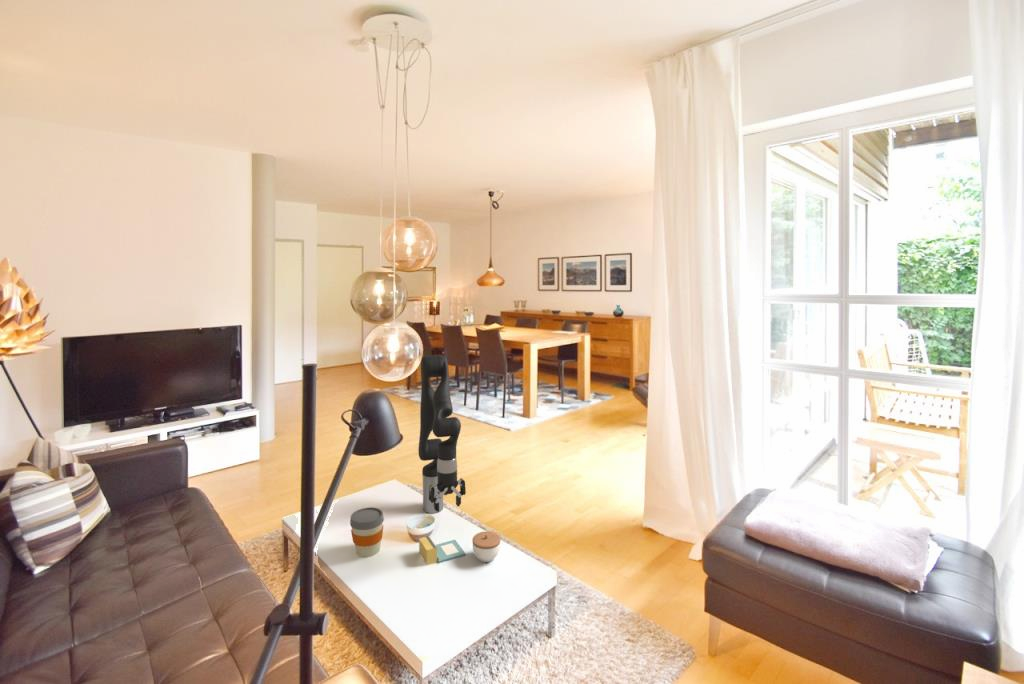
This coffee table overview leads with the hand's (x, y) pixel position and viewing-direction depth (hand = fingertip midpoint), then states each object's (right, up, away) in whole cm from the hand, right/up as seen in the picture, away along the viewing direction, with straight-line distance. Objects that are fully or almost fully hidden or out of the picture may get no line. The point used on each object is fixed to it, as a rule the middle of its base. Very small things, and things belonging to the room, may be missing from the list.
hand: (447, 508), depth 188 cm
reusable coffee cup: (-32, -18, +3) cm, 37 cm away
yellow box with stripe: (-7, -19, -1) cm, 20 cm away
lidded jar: (+15, -19, 0) cm, 24 cm away
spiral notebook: (-1, -18, +3) cm, 18 cm away
